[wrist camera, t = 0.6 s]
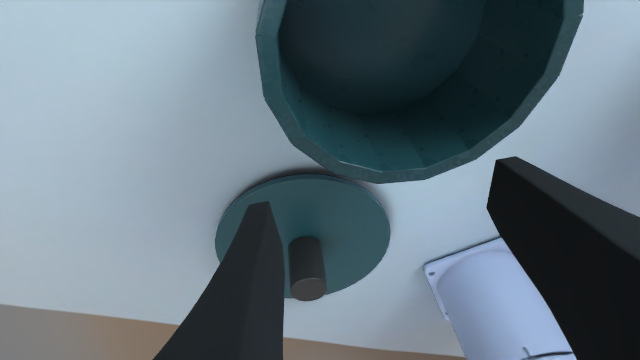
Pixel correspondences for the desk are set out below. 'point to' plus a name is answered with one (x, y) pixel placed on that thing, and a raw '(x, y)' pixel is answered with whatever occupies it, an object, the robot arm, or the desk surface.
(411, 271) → the desk surface
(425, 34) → the pot
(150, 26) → the desk surface
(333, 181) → the lid
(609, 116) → the desk surface
